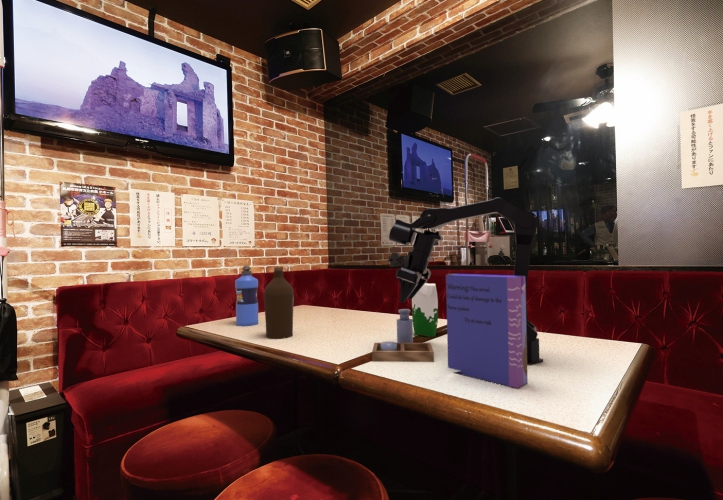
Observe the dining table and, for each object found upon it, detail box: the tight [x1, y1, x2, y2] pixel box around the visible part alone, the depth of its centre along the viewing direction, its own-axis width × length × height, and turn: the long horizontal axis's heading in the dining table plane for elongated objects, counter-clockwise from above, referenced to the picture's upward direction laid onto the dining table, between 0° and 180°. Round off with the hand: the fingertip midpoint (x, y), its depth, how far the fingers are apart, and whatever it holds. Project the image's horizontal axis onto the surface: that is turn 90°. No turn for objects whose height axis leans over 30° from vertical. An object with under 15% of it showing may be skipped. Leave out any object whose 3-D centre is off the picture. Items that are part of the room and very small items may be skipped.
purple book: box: [445, 273, 529, 390], centre depth 88 cm, size 17×5×24 cm, turn 43°
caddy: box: [371, 342, 435, 363], centre depth 104 cm, size 16×10×4 cm, turn 85°
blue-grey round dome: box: [380, 341, 397, 351], centre depth 104 cm, size 4×4×4 cm
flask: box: [396, 308, 414, 343], centre depth 115 cm, size 5×5×12 cm
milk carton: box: [411, 282, 439, 338], centre depth 135 cm, size 9×9×20 cm
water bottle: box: [234, 265, 259, 327], centre depth 162 cm, size 9×9×25 cm
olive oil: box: [263, 266, 295, 340], centre depth 137 cm, size 11×11×25 cm
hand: (406, 300), depth 113 cm, fingers open, 9 cm apart
